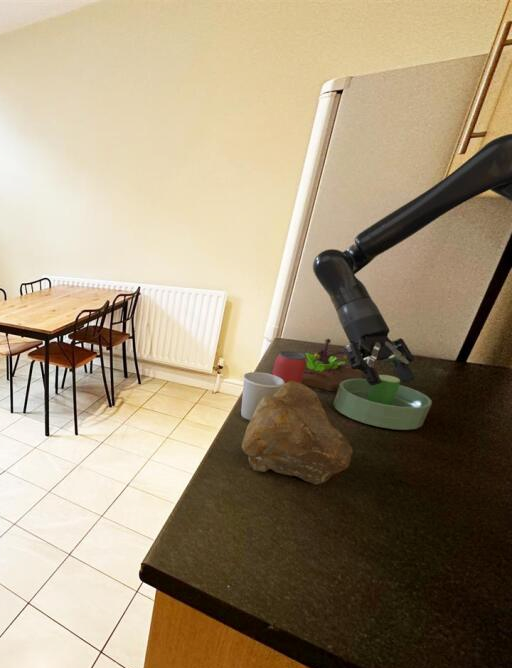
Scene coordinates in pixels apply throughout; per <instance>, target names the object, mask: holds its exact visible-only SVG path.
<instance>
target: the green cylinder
mask: <svg viewBox="0 0 512 668" xmlns="http://www.w3.org/2000/svg"><path fill="white" fill-rule="evenodd" d="M378 375H379V377H380V379H381V383H380V384H377V385H373V386H372V388H371V391H370V393H369V396H368V399H367V400H370V401H373V402H377V403H381V404H386V405H392V402H393V400H394V397H395V395H396V392H397V390H398V387H399V385H401V382H402V381H401V379H400V378H398V377H397V376H393V375H388V374H378Z"/></svg>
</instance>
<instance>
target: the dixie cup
mask: <svg viewBox="0 0 512 668" xmlns="http://www.w3.org/2000/svg"><path fill="white" fill-rule="evenodd" d="M242 378H243V383H242V397H241V399H242V400H241V409H240V410H241V411H240V415H241V417H242V418H243V419H245V420H248V421H251V419H252V416H253V414H254V412H255V410H256V407H257V406H258V404H259V403H260V401H261V400H262V398H264V397H266V396H274V395H275V394H276V393H277V392H278V391H279V390H280V389H281V388H282V386H283V385H284V384H285V382H284V380H283V379H281V378H280V377H278V376H275V375H272V373H267V372H261V371H251V372H246V373H244V374H243V376H242Z"/></svg>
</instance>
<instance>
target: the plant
mask: <svg viewBox="0 0 512 668" xmlns="http://www.w3.org/2000/svg"><path fill="white" fill-rule="evenodd" d="M331 341H332V340H331V339H330V338H326V339H325V340H324V345H323V348H322V349H320V350H319V351H317V352H316V353H314V355H313V354H312V353H310V352H306V353H305V356H306V358H305V359H306V367H305V371H304V374H303V378H302V381H301V384H303V385H305V386H307V387H309V388H315V389H319V390H324V391H327V392H331V393H332V392H333V393H337V391H338V388H339V385H340V383H341V382H342V381H345V380H348V379H363V377H362V374H361V371H360V370H359V369H355V370H354V369H352V368H351V366H350V365H348V364H346V363H347V362H346V361H336V360H337V358H338V357H337V356H335V355H342V358H343V359H345V360H348V358H347V356H346V354H345V351H335V352H331V353H329V354H328V347H329V344H331Z"/></svg>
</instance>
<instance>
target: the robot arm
mask: <svg viewBox="0 0 512 668" xmlns="http://www.w3.org/2000/svg"><path fill="white" fill-rule="evenodd" d="M489 191H491V192H493V193H495V194H497V195H498V196H499V197H502V198H503V199H506V200H507V201H509V202H511V203H512V133H507V134H504V135H501V136H499V137H496V138H494V139H492V140H490V141H489V142H487V143H485V144H483V146H481V147H480V148H479V149H478V150H477V151H476V152H475V153H474V154H473V155H472V156H471V157H469V158H468V159H467V160H466V161H465V162H464V163H462V164H461V165H459V167H457V168H456V169H455V170H453V172H451V173H450V174H448V175H447V176H446V177H445V178H443V179H442V180H440V181H438V183H436V184H434V185H433V186H432V187H429V189H427V190H425V191H424V192H423V193H421V194H420V195H418V196H416V197H415V198H413V199H411V200H410V201H408V202H406V203H404V204H403V205H402V206H400V207H398V208H397V209H394V210H393V211H392V212H390V213H388V214H386V215H385V216H384V217H382V218H380V219H379V220H377V221H376V222H374V223H372V224H371V225H369V226H368V227H366V228H365V229H363V230H362V231H360V232H358V234H356V235H355V237H354V239H353V244H351V245H350V246H349V247H347V248H346V249H345V250H344V251H342V250H339V249H336V248H330V249H325V250H323V251H320V252H319V253H318V254H317V255H316V256H315V257H314V259H313V261H312V272H313V274H314V276H315V277H316V279H317V281H318V283H319V284H320V286H322V288H323V290H324V291H325V292H326V293H327V295H328V297H329V299H330V301H331V304H332V305H333V308H334V310H335V312H336V314H337V318H338V321H339V324H340V325H341V328H342V329H343V331H344V333H345V336H346V338H347V340H348V342H349V344H348V345H345V346H344V347H343V352H345V354H346V356H347V358H348V359H347V361H348V363H349V367H351V368H352V369H354V370H355V369H357V370H358V371H359V372H362V374H363V375H364V377H365V379H366V380H367V382H368V383H369V384H370V385H371V386H373V385H377V384H380V383H381V379H380V377H379V375H380V374H379V373H378V371H377V368H376V367H374V365H375V361H383V362H384V363H385V364H386V363H387V364H390V365H392V366H393V367H394V368H395V372H396V373H397V375H398V377H399V379H400V381H401V382H402V383H404V384H405V383H409V382H412V381H414V380H415V377H414V374H413V372H412V370H411V368H410V366H409V364H410V363H411V362H412V363H413V362H414V361H415V360H416V359H415V357H414V356H413V354H412V352H411V350H410V349H409V347H408V345H407V344H406V342H405V340H404V339H403V338H397V339H395V340H391V339H390V338H389V337H388V336H389V333H390V331H391V329H390V328H389V326H388V324H387V322H386V321H385V318H384V316H383V315H382V312H381V311H380V309H379V308H378V307H379V306H377V304H376V303H375V302H374V301H373V298H372V297H371V295H370V294H369V291H368V289H367V287H366V285H364V282H362V281H361V280H360V279H358V278H357V276H356V274H357V273H359V272H361V270H362V269H364V268H365V267H366V266H367V265H369V264H370V263H371V262H372V261H373V260H374V259H376V258H377V257H378V256H380V255H382V254H383V253H385V252H387V251H389V250H390V249H392V248H393V247H396V246H397V245H399V244H401V243H402V242H404V241H405V240H407V239H409V238H410V237H412V236H413V235H415V234H417V233H418V232H419V231H421V230H422V229H424V228H425V227H427V226H428V225H430V224H432V223H433V222H434V221H435V220H437V219H438V218H441V217H442V216H443V215H445V214H446V213H448V212H450V211H452V210H454V209H455V208H457V207H458V206H460V205H462V204H464V203H465V202H468V201H470V200H471V199H473V198H476V197H478V196H479V195H481V194H483V193H486V192H489ZM403 355H404V356H405V357H404V356H403ZM356 361H357V362H356Z"/></svg>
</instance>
